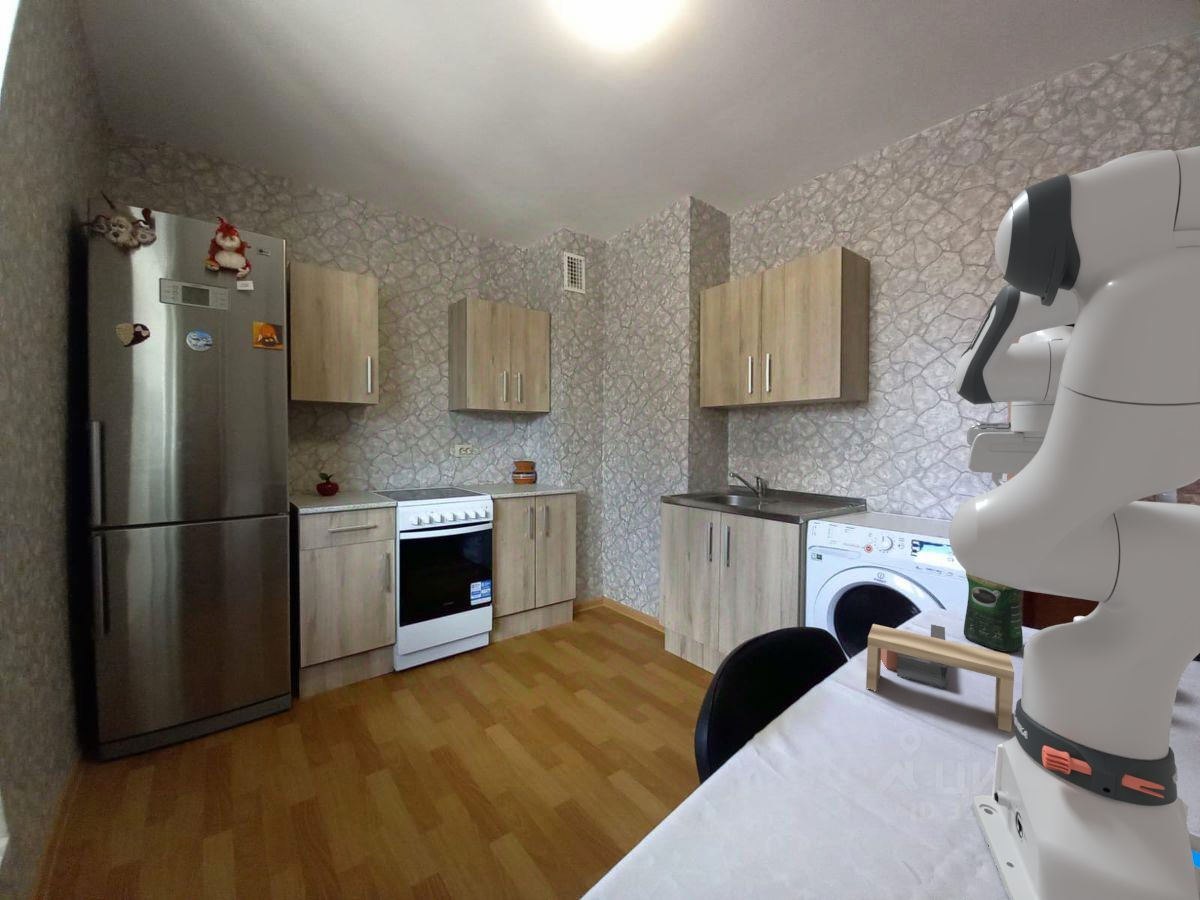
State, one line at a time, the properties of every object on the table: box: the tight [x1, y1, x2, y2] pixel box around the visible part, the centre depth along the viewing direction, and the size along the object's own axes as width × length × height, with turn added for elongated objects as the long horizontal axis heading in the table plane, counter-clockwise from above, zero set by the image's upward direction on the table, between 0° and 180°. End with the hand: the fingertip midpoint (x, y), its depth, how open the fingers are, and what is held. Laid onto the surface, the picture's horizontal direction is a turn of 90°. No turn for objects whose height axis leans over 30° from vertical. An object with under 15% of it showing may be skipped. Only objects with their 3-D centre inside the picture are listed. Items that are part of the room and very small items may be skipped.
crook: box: [896, 624, 948, 690], centre depth 94 cm, size 21×7×4 cm, turn 144°
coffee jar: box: [963, 570, 1024, 653], centre depth 101 cm, size 10×8×19 cm
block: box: [881, 648, 898, 671], centre depth 92 cm, size 5×5×5 cm
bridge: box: [865, 623, 1015, 733], centre depth 80 cm, size 7×20×10 cm, turn 53°
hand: (1039, 501), depth 82 cm, fingers open, 8 cm apart
